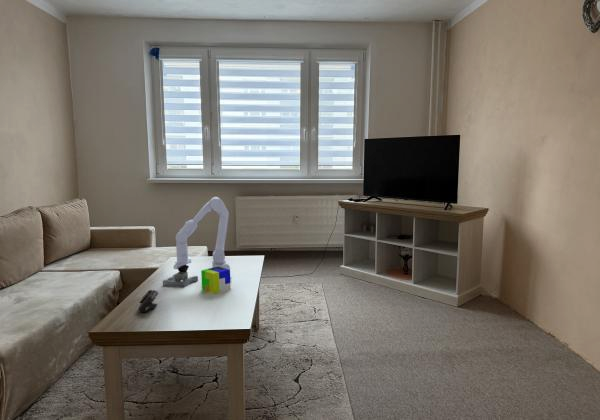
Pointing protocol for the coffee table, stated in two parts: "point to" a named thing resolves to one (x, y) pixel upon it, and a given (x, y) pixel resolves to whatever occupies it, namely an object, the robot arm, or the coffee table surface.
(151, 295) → the black angular device
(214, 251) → the robot arm
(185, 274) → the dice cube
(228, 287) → the puzzle toy
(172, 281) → the chassis bay
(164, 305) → the coffee table surface
